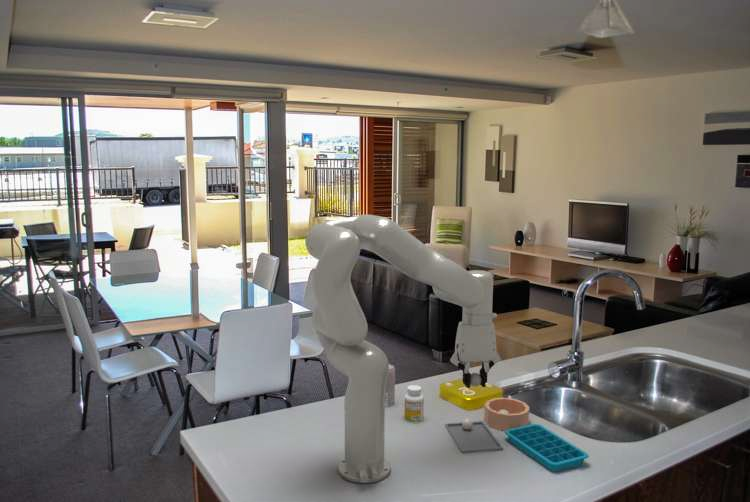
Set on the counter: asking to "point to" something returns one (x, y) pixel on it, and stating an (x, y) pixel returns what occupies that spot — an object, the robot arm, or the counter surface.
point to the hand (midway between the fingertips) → (474, 385)
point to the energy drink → (390, 387)
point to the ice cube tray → (546, 447)
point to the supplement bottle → (414, 404)
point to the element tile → (468, 394)
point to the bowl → (503, 420)
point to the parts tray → (473, 438)
